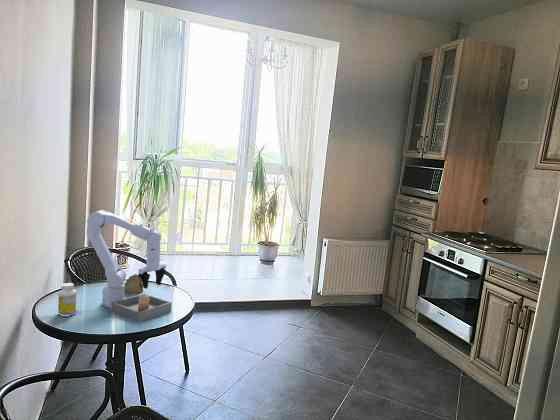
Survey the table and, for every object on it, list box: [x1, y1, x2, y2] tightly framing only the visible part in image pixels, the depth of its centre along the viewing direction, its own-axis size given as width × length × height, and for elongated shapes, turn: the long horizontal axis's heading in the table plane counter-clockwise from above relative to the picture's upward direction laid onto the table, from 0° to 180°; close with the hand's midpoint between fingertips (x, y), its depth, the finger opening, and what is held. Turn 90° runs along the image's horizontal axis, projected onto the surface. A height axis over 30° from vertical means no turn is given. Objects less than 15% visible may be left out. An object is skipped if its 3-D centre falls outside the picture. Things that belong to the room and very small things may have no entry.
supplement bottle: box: [57, 282, 77, 316], centre depth 174 cm, size 7×7×13 cm
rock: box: [124, 274, 144, 295], centre depth 208 cm, size 11×9×10 cm
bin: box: [110, 293, 173, 323], centre depth 184 cm, size 18×18×4 cm
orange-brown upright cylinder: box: [138, 294, 150, 311], centre depth 183 cm, size 5×5×6 cm
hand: (151, 286), depth 190 cm, fingers open, 7 cm apart
